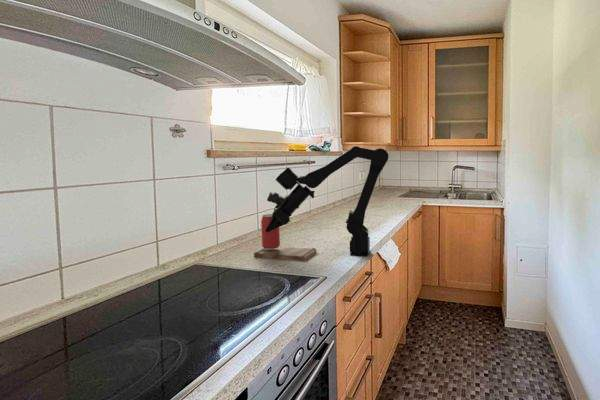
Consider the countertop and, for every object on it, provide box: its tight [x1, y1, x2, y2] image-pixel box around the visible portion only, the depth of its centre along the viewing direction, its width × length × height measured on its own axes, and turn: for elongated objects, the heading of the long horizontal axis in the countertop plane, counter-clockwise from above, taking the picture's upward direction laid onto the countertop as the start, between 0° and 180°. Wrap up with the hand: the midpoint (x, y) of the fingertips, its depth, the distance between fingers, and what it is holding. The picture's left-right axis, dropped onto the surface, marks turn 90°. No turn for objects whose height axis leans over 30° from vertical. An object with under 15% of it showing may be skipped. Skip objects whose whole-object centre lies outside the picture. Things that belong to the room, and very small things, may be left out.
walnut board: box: [253, 245, 318, 262], centre depth 155 cm, size 20×12×2 cm, turn 69°
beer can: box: [260, 213, 281, 249], centre depth 156 cm, size 7×7×12 cm
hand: (266, 229), depth 156 cm, fingers closed on beer can, 6 cm apart
